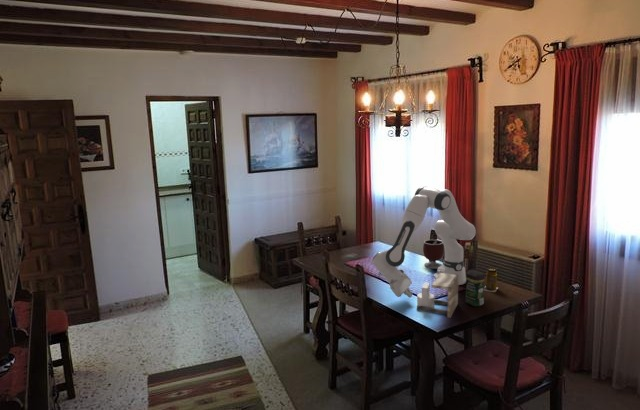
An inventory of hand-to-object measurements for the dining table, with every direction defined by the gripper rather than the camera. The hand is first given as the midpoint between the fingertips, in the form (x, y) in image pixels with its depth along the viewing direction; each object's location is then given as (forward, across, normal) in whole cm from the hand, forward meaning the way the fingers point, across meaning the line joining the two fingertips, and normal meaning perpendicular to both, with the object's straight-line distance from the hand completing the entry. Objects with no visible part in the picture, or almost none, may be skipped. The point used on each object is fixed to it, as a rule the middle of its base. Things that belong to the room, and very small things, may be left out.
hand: (411, 296), depth 244 cm
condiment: (+29, +40, -23) cm, 54 cm away
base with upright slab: (+9, 0, -2) cm, 9 cm away
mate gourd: (0, +70, +6) cm, 70 cm away
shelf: (+13, 0, -7) cm, 15 cm away
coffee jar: (+26, +14, -19) cm, 35 cm away
